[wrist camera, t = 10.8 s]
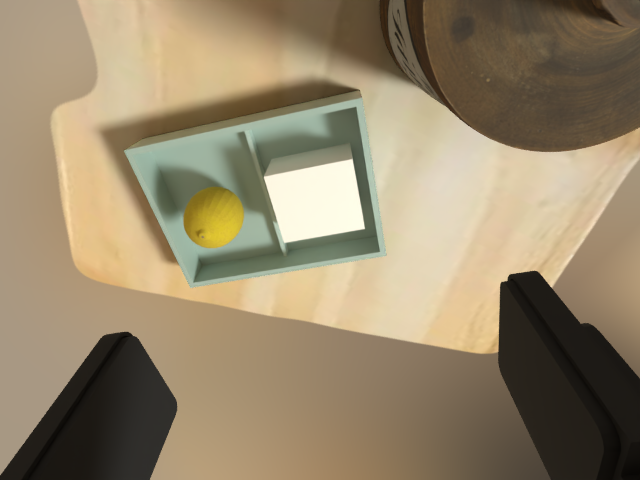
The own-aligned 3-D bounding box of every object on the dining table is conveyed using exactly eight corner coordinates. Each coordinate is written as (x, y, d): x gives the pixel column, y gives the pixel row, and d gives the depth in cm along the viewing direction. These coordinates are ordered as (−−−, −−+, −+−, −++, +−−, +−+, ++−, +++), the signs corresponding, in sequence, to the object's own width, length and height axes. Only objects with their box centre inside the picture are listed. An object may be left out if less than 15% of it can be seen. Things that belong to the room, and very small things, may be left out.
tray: (142, 138, 38) (123, 150, 34) (359, 90, 35) (362, 97, 32) (201, 267, 46) (190, 287, 42) (382, 236, 43) (386, 255, 39)
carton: (271, 158, 38) (263, 176, 34) (350, 142, 37) (352, 158, 33) (289, 219, 41) (283, 242, 37) (361, 206, 40) (364, 228, 36)
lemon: (189, 203, 41) (160, 241, 34) (215, 165, 38) (189, 196, 32) (233, 231, 42) (214, 272, 35) (260, 196, 40) (245, 232, 33)
